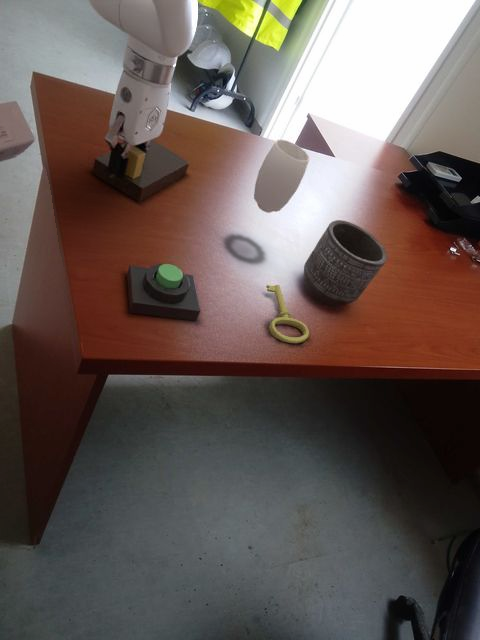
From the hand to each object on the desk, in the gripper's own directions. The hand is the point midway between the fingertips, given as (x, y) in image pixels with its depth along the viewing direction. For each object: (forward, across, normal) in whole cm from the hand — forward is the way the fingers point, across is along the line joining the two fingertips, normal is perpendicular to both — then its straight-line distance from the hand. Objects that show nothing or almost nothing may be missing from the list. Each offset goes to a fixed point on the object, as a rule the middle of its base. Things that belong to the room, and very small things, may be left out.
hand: (125, 169), depth 83 cm
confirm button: (0, -20, -21) cm, 30 cm away
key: (+4, -8, -39) cm, 40 cm away
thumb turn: (0, 0, 0) cm, 0 cm away
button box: (+3, -20, -21) cm, 30 cm away
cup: (+4, +4, -25) cm, 26 cm away
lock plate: (+3, +6, 0) cm, 7 cm away
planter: (+3, +6, -43) cm, 43 cm away
